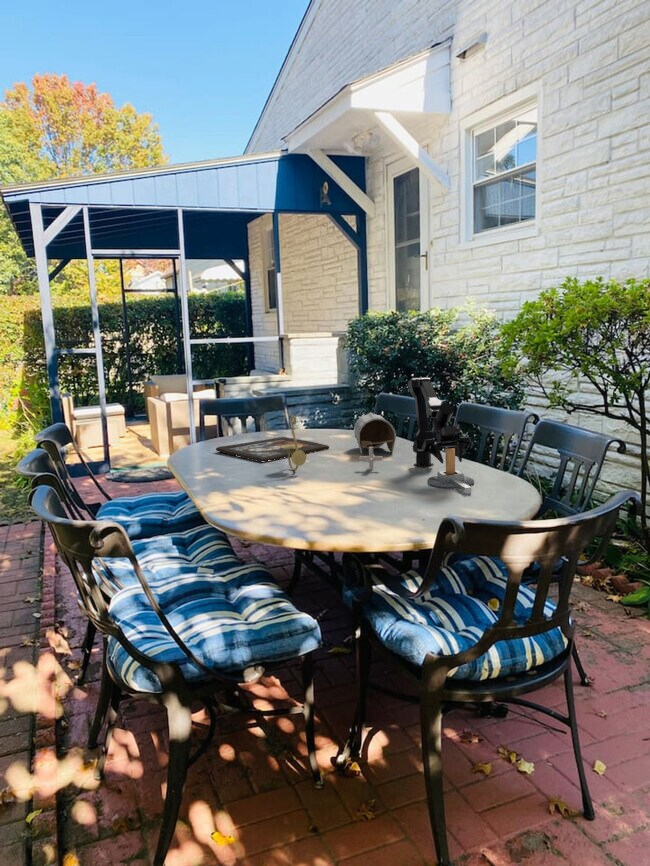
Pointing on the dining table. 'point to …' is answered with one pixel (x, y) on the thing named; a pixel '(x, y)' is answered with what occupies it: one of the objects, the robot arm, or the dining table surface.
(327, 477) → the dining table surface
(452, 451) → the pin
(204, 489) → the dining table surface
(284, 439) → the religious icon
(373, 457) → the pipe connector
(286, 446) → the wall sconce
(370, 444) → the helmet
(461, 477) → the rosette plate
